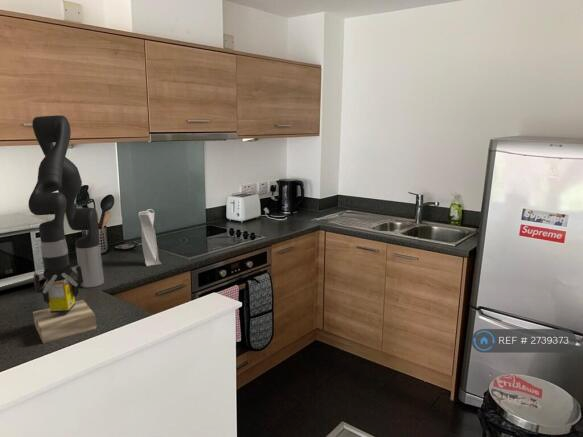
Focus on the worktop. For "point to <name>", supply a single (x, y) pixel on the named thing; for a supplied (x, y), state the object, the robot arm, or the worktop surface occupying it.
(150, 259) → the skyscraper
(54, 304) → the supplement box
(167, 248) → the worktop surface
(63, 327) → the oak support block
